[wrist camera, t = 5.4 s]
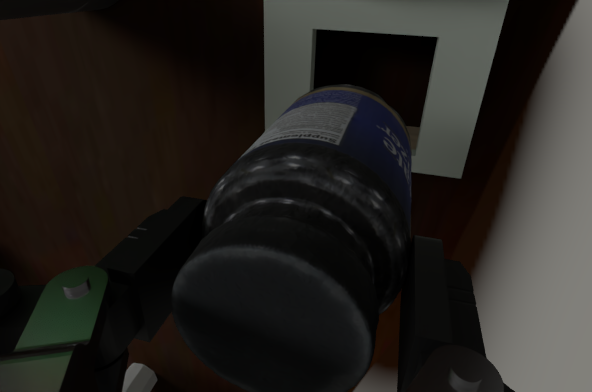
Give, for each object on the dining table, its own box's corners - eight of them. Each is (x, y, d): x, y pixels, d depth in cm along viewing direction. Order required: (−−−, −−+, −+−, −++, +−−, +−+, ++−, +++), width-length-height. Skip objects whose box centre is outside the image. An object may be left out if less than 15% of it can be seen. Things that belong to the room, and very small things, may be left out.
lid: (270, 146, 31) (246, 174, 26) (269, -158, 22) (232, -192, 17) (459, 171, 28) (467, 208, 23) (548, -168, 19) (589, -212, 14)
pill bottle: (417, 201, 18) (424, 438, 9) (294, 211, 20) (194, 413, 11) (402, 66, 16) (389, 202, 6) (262, 93, 18) (94, 226, 8)
